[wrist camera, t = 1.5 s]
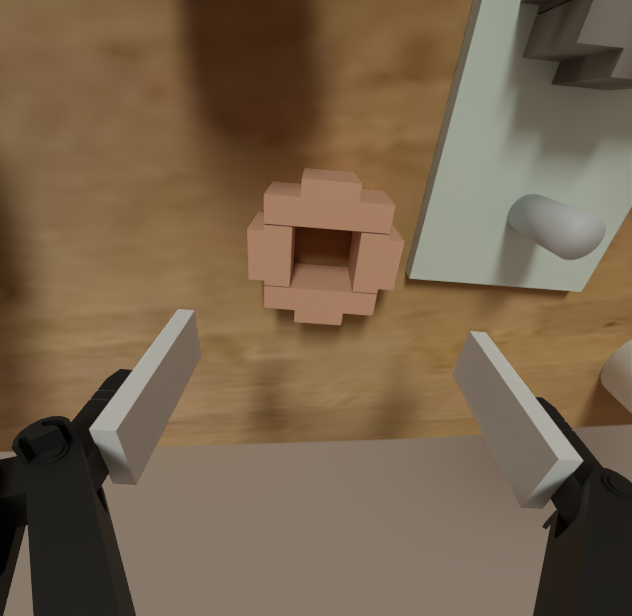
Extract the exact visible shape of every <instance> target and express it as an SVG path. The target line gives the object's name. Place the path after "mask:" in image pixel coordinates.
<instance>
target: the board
mask: <svg viewBox="0 0 632 616" xmlns="http://www.w3.org/2000/svg"><path fill="white" fill-rule="evenodd" d="M520 2H521V0H473V4H472V8H471V12H470V16H469V20H468V24H467V28H466V32H465V36H464V40H463V44H462V48H461V52H460V56H459V60H458V64H457V68H456V72H455V76H454V80H453V84H452V88H451V92H450V96H449V100H448V104H447V108H446V112H445V116H444V120H443V124H442V128H441V132H440V136H439V140H438V144H437V148H436V152H435V156H434V160H433V164H432V168H431V172H430V176H429V180H428V184H427V188H426V192H425V196H424V200H423V204H422V208H421V212H420V216H419V220H418V224H417V228H416V232H415V236H414V240H413V244H412V248H411V251H410V255H409V259H408V263H407V267H406V271H405V272H406V273H407V275H408V277H409V279H421V280H434V281H447V282H460V283H473V284H486V285H499V286H512V287H525V288H538V289H551V290H564V291H577V292H582V290H583V288H584V287H585V285H586V283H587V281H588V280H589V278H590V276H591V275H592V273H593V271H594V270H595V268H596V266H597V265H598V263H599V261H600V259H601V258H602V256H603V254H604V253H605V251H606V249H607V248H608V246H609V244H610V242H611V241H612V239H613V237H614V236H615V234H616V232H617V231H618V229H619V227H620V226H621V224H622V222H623V220H624V219H625V217H626V215H627V214H628V212H629V210H630V209H631V207H632V89H622V90H599V89H590V88H580V87H570V86H560V85H551V84H552V81H553V79H554V76H555V73H556V71H557V68H558V66H559V63H560V62H557V61H547V60H537V59H528V58H522V57H523V54H524V51H525V48H526V45H527V42H528V39H529V36H530V33H531V30H532V27H533V24H534V21H535V18H536V16H538V15H540V14H537V12H538V9H539V6H540V5H533V4H524V3H520Z"/></svg>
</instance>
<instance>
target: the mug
mask: <svg viewBox="0 0 632 616" xmlns="http://www.w3.org/2000/svg"><path fill="white" fill-rule="evenodd" d="M600 378H601V383H602V385H603V386H604V387H605V388H606V390H607V391H608V392H609V393H611V394H612V395H613V396H614V397H615V398H616V399H617V400H618V401H619V402H620V403H621V404H622V405H623V406H624V407H625V408H626V409H627V410H628V411H629V412H630V413H631V414H632V340H630V341H628V342H627V343H625V344H623V345H622V346H621V347H620V348H619V349H618V350H616V351H615V352H614V353H613V354H612V355H611V356H610V357H609V359H608V360H607V361H606V363H605V364H604V365H603V369H602V372H601V375H600Z"/></svg>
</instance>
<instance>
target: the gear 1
mask: <svg viewBox="0 0 632 616" xmlns="http://www.w3.org/2000/svg"><path fill="white" fill-rule="evenodd" d="M361 188H362V183H361V181H360V180H359V178H358V177H357V175H356V173H355V172H348V171H336V170H325V169H314V168H304V172H303V176H302V183H290V182H279V181H272V183H271V184H270V186H269V187H268V189H267V190H266V192H265V193H264V211H258V212H257V214H256V216H255V217H254V219H253V220H252V222H251V224H250V225H249V227H248V228H247V242H248V272H249V279H250V280H263V281H264V308H274V309H288V310H295V313H294V322H301V323H315V324H330V325H341V322H342V316H343V313H344V314H358V315H372V316H373V312H374V307H375V302H376V297H377V292H378V289H383V290H393V289H394V284H395V280H396V276H397V272H398V268H399V263H400V259H401V255H402V251H403V246H404V240H403V239H402V237H401V236H400V234H399V233H398V231H397V230H396V229H395V227H394V226H393V224H392V220H393V215H394V211H395V206H396V205H395V204H394V203H393V202H392V201H391V200H390V198H389V197H388V196H387V195H386V194H385V192H384V191H382V190H371V189H361ZM295 226H299V227H311V228H324V229H336V230H348V231H352V238H351V245H350V252H349V259H348V267H341V266H328V265H315V264H302V263H294V246H295Z"/></svg>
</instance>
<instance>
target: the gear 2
mask: <svg viewBox="0 0 632 616" xmlns="http://www.w3.org/2000/svg"><path fill="white" fill-rule="evenodd" d="M520 3H524V4H533V5H540V6H539V9H538V12H537V14H540V15H538V16H536V18H535V21H534V24H533V27H532V30H531V33H530V36H529V39H528V42H527V45H526V48H525V51H524V54H523V57H522V58H528V59H537V60H547V61H557V62H560V63H559V66H558V68H557V71H556V73H555V76H554V79H553V81H552V84H551V85H560V86H570V87H580V88H590V89H599V90H622V89H632V0H521V2H520Z"/></svg>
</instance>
